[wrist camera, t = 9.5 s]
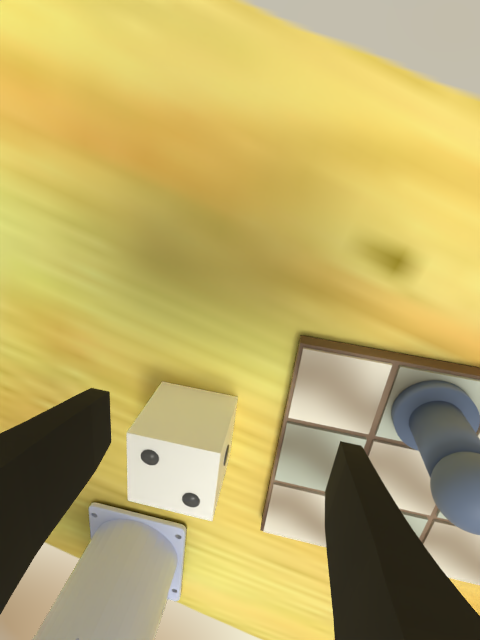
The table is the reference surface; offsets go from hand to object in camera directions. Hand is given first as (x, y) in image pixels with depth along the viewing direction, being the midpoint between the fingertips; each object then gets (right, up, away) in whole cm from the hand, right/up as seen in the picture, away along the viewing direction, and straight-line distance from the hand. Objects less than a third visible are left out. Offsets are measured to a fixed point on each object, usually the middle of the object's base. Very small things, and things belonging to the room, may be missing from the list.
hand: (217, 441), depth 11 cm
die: (-2, -3, +13) cm, 13 cm away
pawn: (+11, -1, +8) cm, 14 cm away
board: (+11, -5, +11) cm, 16 cm away
